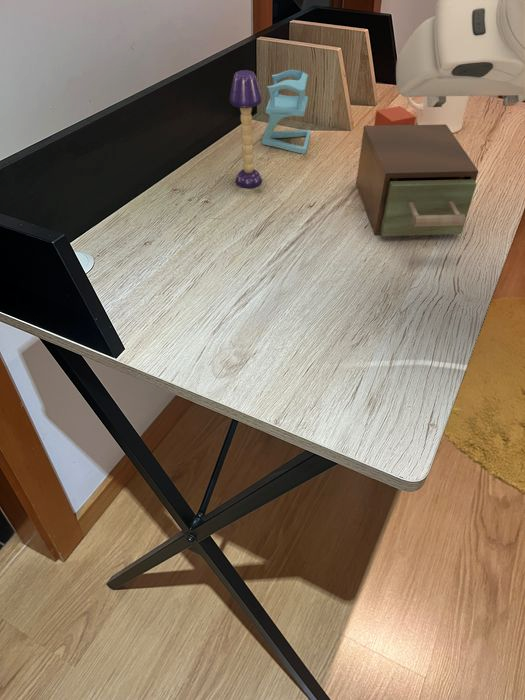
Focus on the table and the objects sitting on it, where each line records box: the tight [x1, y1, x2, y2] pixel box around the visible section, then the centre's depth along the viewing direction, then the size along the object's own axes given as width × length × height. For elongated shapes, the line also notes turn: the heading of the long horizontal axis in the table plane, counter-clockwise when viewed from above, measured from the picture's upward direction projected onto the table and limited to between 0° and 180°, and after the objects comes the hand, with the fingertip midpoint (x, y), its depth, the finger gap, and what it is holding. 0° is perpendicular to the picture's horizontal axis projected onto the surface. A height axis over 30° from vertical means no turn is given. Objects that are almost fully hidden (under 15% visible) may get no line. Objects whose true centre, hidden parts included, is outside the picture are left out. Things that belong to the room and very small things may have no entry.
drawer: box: [381, 177, 477, 237], centre depth 81 cm, size 18×11×8 cm, turn 4°
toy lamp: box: [229, 69, 263, 189], centre depth 86 cm, size 5×5×17 cm
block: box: [373, 105, 417, 126], centre depth 102 cm, size 5×5×5 cm
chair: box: [261, 69, 311, 155], centre depth 98 cm, size 8×8×12 cm
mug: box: [406, 96, 470, 134], centre depth 105 cm, size 12×8×12 cm
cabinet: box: [355, 124, 479, 236], centre depth 84 cm, size 15×13×10 cm
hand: (471, 100), depth 63 cm, fingers open, 7 cm apart
